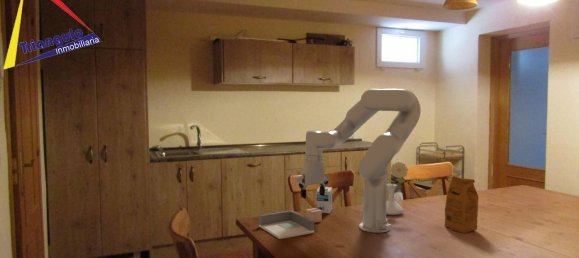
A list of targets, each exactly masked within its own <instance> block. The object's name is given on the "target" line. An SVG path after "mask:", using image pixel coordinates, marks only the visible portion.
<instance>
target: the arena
mask: <svg viewBox="0 0 579 258" xmlns="http://www.w3.org/2000/svg"><path fill="white" fill-rule="evenodd" d="M258 217H259V218H258V219H259V222H258V224H259V226H258V227H259V228H260V229H262V230H263V231H266V232H267V233H269V234H270V235H271V236H273V237H275V238H277V239H279V240H282V239H288V238H293V237H298V236H302V235H308V234H314V233H315V223H314V220H312V219H310V218H308V217H306V215H303V214H301V213H299V212H296V211H295V210H293V209H291V210H285V211H278V212H271V213H270V212H269V213H266V214H259V215H258Z"/></svg>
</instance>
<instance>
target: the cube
mask: <svg viewBox="0 0 579 258" xmlns="http://www.w3.org/2000/svg"><path fill="white" fill-rule="evenodd" d="M322 214H323V213H322V210H319V209H317V207H312V208H307V209H306V210H305V216H306V217H308V218H310V219H312V220H314V224H315V223H321V222H322V220H323V219H322Z"/></svg>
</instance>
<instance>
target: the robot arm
mask: <svg viewBox="0 0 579 258" xmlns="http://www.w3.org/2000/svg"><path fill="white" fill-rule="evenodd" d="M380 111H381V112H398V113H397V114H396V116H395V118H394V119H393V120H392V122H391V124H390V125H389V126H388V127H387V129H386V130H385V132H384V133H381V134H380V135H378V136H376V138H375V139H374V140H373V142H372V143H371V145H370V146H369V148H368V149H367V151H366V152H365V154H364V155H363V156H362V158H361V160H360V161H359V164H358V172H359V174H360V175H361V177H362V178H363V193H362V195H363V197H362V198H363V199H362V204H363V205H362V206H363V207H362V208H363V209H362V222H361V223H359V225H358V227H359V229H360V230H362V231H364V232H367V233H374V234H382V233H387V232H389V231H390V230H391V228H392V227H393V225H392V224H390V223H388V222H389V220H388V219H387V214H386V204H387V201H388V199H387V197H388V195H387V194H388V192H387V191H388V187H387V184H388V179H387V178H388V175H389V164H390V162H391V161H392V160H393V159H394V157H395V156H396V155H397V154H398V153H399V152H400V151H401V148H402V147H403V146H404V143H406V141H407V139H408V138H409V136H410V135H411V134H412V132H413V131H414V129H415V128H416V126H417V124H418V122H419V121H420V117H421V104H420V100H419V99H418V97H417V95H416V94H415V93H414V92H413V91H411V90H409V89H404V88H383V89H382V88H381V89H380V88H369V89H367V90H365V91H364V92H363V93H362V94H361V97H360V99H359V101H357V102H356V103H355V104H354V105H353V106H352V107H351V108H349V110H347V112H346V114H345V117H344V119H343V120H342V121H341V122H340V123H339V124H338V125H337V126H336V127H335V128H334V129H332V130H329V131H320V130H308V131H306V134H305V152H304V153H305V155H304V156H305V158H304V159H305V160H304V161H303V164H302V167H301V173H300V174H301V176H299V177H298V178H296V179H295V182H296V184H297V186H298V187H299V188H300V196H301V197H300V198H302V199H307V189H306V188H307V187H308V186H312V185H320V186H319V187H320V190H319V195H321V196H325V187H327V185H328V184H329V182H330V180H331V177H330V176H329V175H327V174H325V173H326V171H325V164H324V160H323V159H325V155H323V151H324V149H326V150H331V149H335V148H338V147H340V146H342V145H343V144H344V143H345V142H346V141H347V140H348V139H350V138H351V137H352V136H354V134H355V133H356V132H357V131H358V130H359V129H360V128H361V127H362V126H363V125H365V124H366V123H367V122H368V121H369V120H370V119H371V118H372V117H373V116H375V115H376V114H377V113H378V112H380Z"/></svg>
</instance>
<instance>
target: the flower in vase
mask: <svg viewBox="0 0 579 258" xmlns="http://www.w3.org/2000/svg"><path fill="white" fill-rule="evenodd" d="M389 171H390V173H391V174H392V176H393V177H395V178H396V179H395V181H394V180H392V179H390V178H388V177H387V181H389V182H392V183H387V190H388V199H387V204H386V215H390V216H391V215H392V216H396V215H401V214H403V213H404V212H405V210H404V208H403V207H402V206H401V205H400V204H398V202H397V201H396V200H395V191H396V188H397V186H398V184H397V183H396V181H397V182H398V183H400V184H403V183H406V182H407V181H406V179H405V178H404V177H406V176H407V174H408V171H409V169H408V167H407V166H406V164H405V163H403V162H401V161H397V162H394V163H392V164H391V167H390V170H389ZM395 183H396V184H395Z"/></svg>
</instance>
